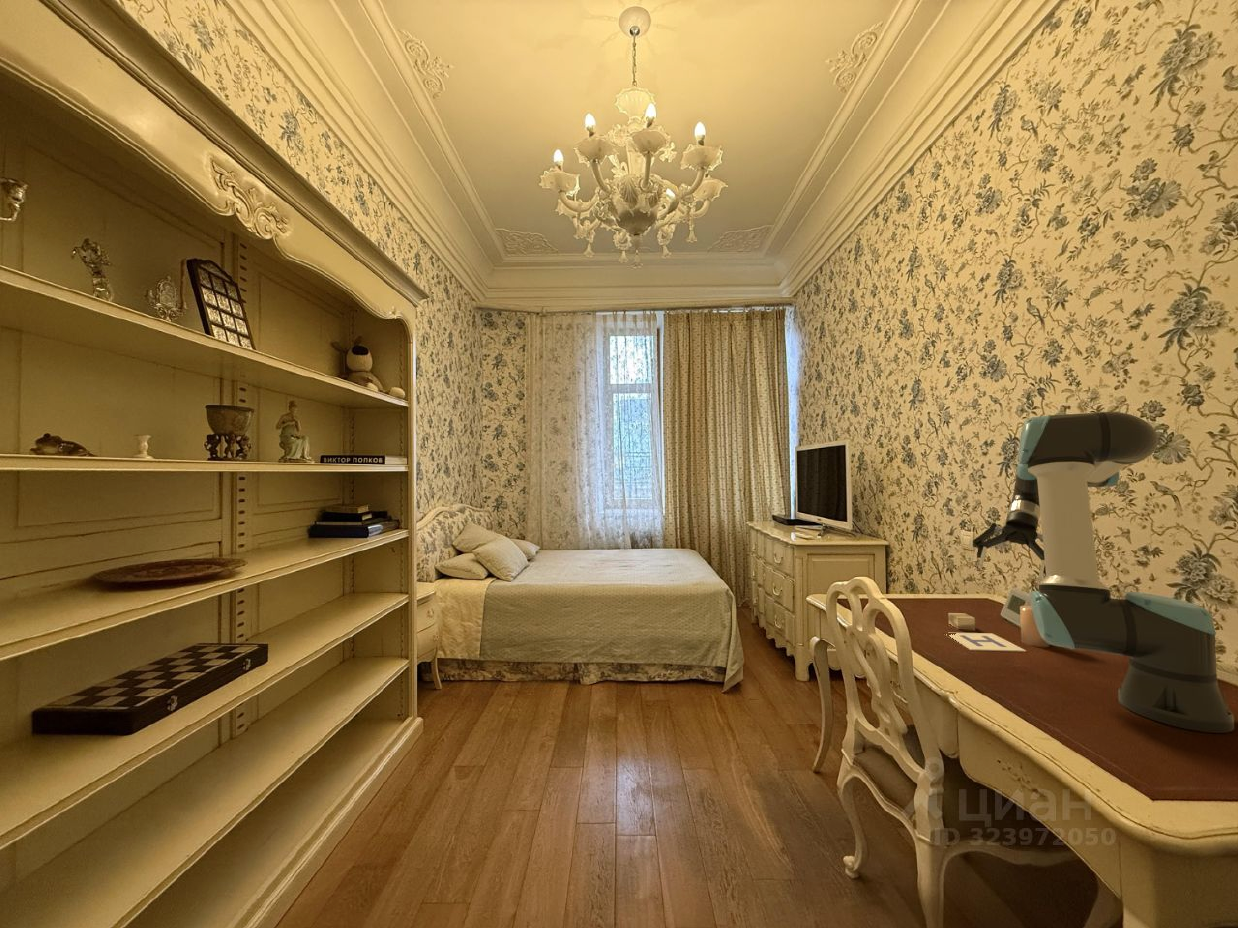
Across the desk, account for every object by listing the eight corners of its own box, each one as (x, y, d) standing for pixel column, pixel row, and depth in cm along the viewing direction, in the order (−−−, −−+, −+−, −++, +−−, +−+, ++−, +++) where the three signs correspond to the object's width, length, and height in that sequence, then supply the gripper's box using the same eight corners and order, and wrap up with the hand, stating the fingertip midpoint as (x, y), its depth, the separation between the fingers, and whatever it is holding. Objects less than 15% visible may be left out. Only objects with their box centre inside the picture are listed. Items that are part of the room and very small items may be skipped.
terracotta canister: (1055, 647, 131) (1053, 611, 131) (1031, 646, 132) (1029, 611, 132) (1038, 640, 137) (1037, 605, 137) (1016, 639, 138) (1014, 605, 138)
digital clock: (999, 616, 159) (998, 585, 159) (1033, 620, 155) (1032, 588, 155) (1013, 631, 145) (1011, 596, 145) (1051, 635, 141) (1049, 599, 141)
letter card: (1026, 651, 128) (1026, 650, 128) (971, 650, 130) (971, 649, 130) (992, 634, 142) (992, 633, 142) (942, 633, 144) (942, 632, 144)
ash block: (975, 630, 146) (974, 617, 146) (958, 630, 147) (957, 617, 147) (965, 625, 151) (965, 613, 151) (948, 625, 152) (948, 613, 152)
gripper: (1075, 535, 140) (1064, 594, 131) (973, 516, 157) (957, 567, 148) (1079, 520, 135) (1068, 580, 126) (974, 502, 152) (957, 553, 143)
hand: (1008, 573), depth 137 cm, fingers open, 13 cm apart
